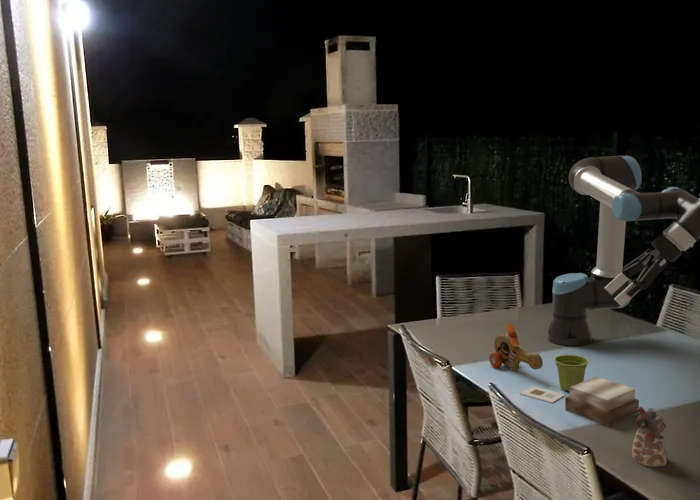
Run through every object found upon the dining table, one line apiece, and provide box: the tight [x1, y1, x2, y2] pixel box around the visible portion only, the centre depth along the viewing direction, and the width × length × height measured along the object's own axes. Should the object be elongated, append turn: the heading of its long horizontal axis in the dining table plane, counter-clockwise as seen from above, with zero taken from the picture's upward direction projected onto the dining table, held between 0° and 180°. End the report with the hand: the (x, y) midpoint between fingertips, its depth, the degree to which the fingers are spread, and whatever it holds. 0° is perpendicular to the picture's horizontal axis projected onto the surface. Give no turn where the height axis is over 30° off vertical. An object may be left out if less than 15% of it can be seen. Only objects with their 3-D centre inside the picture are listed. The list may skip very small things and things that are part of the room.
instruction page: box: [520, 385, 566, 404], centre depth 182 cm, size 10×7×1 cm
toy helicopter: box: [488, 323, 544, 372], centre depth 199 cm, size 8×21×14 cm, turn 26°
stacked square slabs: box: [564, 376, 640, 427], centre depth 169 cm, size 13×13×6 cm
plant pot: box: [553, 354, 590, 393], centre depth 185 cm, size 9×9×9 cm
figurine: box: [631, 406, 668, 468], centre depth 143 cm, size 7×7×12 cm
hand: (612, 297), depth 179 cm, fingers open, 13 cm apart
